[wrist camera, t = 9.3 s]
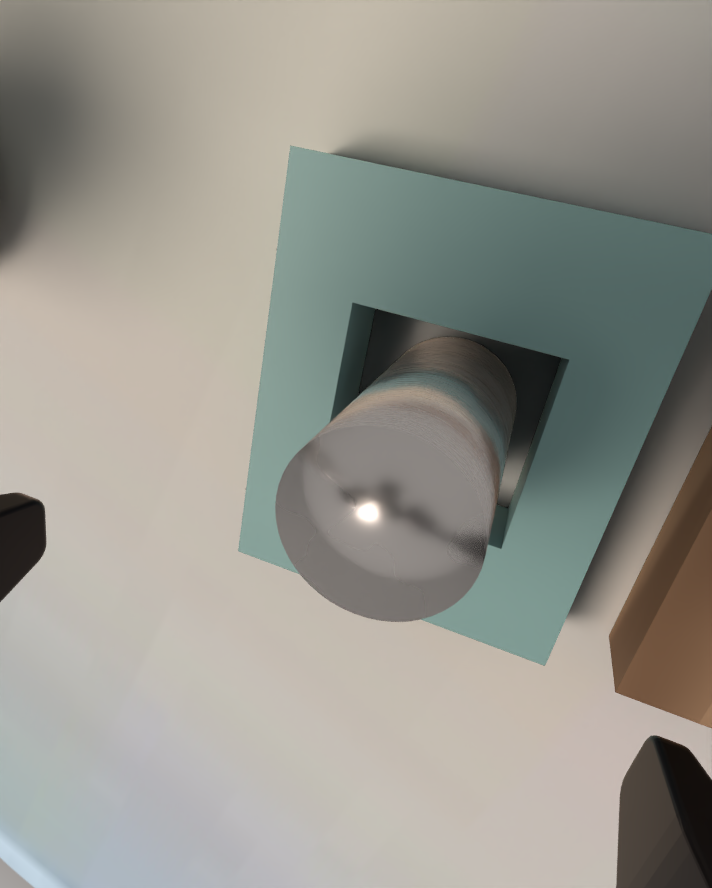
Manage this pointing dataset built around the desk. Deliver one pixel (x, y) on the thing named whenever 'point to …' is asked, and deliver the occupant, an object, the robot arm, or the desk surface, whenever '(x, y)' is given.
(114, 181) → the desk surface
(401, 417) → the steel peg
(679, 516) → the socket block
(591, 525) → the block
